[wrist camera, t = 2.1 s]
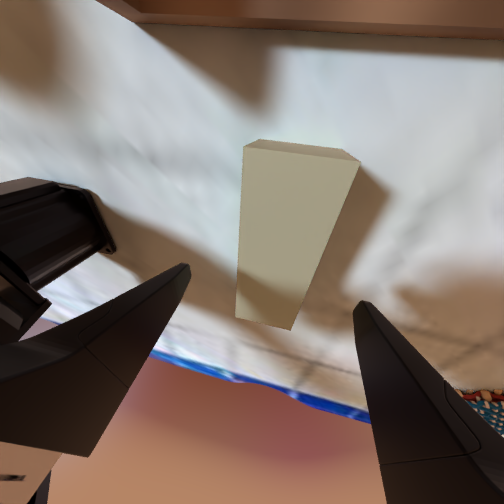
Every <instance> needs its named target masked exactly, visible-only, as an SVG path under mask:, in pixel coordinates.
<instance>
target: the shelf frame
mask: <svg viewBox="0 0 504 504" xmlns="http://www.w3.org/2000/svg"><path fill="white" fill-rule="evenodd" d="M96 1H98V2H99V3H101V4H103V5H104V6H106V7H108V8H109V9H111V10H113V11H115V12H116V13H118V14H120V15H121V16H123V17H125V18H126V19H128V20H130V21H131V22H137V23H158V24H179V25H199V26H220V27H241V28H262V29H282V30H303V31H324V32H345V33H365V34H386V35H407V36H427V37H448V38H469V39H490V40H504V0H96Z"/></svg>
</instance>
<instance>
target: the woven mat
mask: <svg viewBox="0 0 504 504" xmlns="http://www.w3.org/2000/svg"><path fill="white" fill-rule="evenodd" d="M455 390H456V391H457V393H458V394H459V395H460V396H461V397H462V398H463V399H464V400H465V401H466V402H467V403H468V404H469V405H470V406H471V407H472V408H473V409H474V410H475V411H476V412H477V413H478V414H479V415H480V416H482V417H483V418H484V419H485V420H486V421H487V422H488V423H489V424H490V425H491V426H492V427H493V428H494V429H495V430H496V431H497V432H498V433H499V434H500V435H502V434H504V396H502V393H503V390H494V392H493V394H492V393H490V392H489V391H487V390H480V391H477V392H476V393H474V394H473V390H466V395H462V393H461V392H460V390H458V389H455ZM491 397H492V398H491Z"/></svg>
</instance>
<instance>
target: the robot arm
mask: <svg viewBox="0 0 504 504" xmlns="http://www.w3.org/2000/svg"><path fill="white" fill-rule="evenodd" d="M96 252H102V253H106V254H113V253H115V252H116V248H115V246H114V244H113V242H112V240H111V238H110V236H109V234H108V231H107V229H106V227H105V225H104V223H103V221H102V219H101V217H100V215H99V213H98V211H97V208H96V206H95V204H94V202H93V200H92V198H91V196H90V194H89V193H88V192H87V191H86V190H85V189H82V188H77V187H71V186H66V185H60V184H58V183H56V182H53V181H48V180H42V179H36V178H31V177H26V178H21V179H17V180H12V181H7V182H3V183H0V504H47V500H48V492H49V483H50V476H51V469H52V467H53V466H54V464H55V463H56V462H57V460H58V459H59V457H60V456H61V455H62V453H66V454H71V455H77V456H82V457H89V456H90V454H91V453H92V451H93V450H94V448H95V446H96V444H97V443H98V441H99V439H100V438H101V436H102V434H103V433H104V431H105V429H106V427H107V426H108V424H109V422H110V421H111V419H112V417H113V416H114V414H115V412H116V410H117V409H118V407H119V405H120V404H121V402H122V400H123V399H124V397H125V395H126V393H127V392H128V390H129V388H130V386H131V385H132V383H133V381H134V380H135V378H136V376H137V375H138V373H139V371H140V369H141V368H142V366H143V364H144V363H145V361H146V359H147V358H148V356H149V354H150V352H151V351H152V349H153V347H154V346H155V344H156V342H157V341H158V339H159V337H160V335H161V334H162V332H163V330H164V329H165V327H166V325H167V324H168V322H169V320H170V318H171V317H172V315H173V313H174V312H175V310H176V308H177V307H178V305H179V303H180V301H181V299H182V297H183V294H184V292H185V290H186V288H187V286H188V283H189V281H190V279H191V270H190V265H189V264H186V263H180V264H178V265H176V266H174V267H172V268H170V269H169V270H167V271H165V272H163V273H161V274H159V275H157V276H155V277H153V278H152V279H150V280H148V281H146V282H144V283H142V284H140V285H138V286H136V287H135V288H133V289H131V290H129V291H127V292H125V293H123V294H121V295H119V296H118V297H116V298H115V299H112V300H110V301H108V302H106V303H104V304H102V305H100V306H98V307H96V308H94V309H92V310H90V311H88V312H86V313H84V314H82V315H80V316H78V317H76V318H73V319H71V320H69V321H67V322H65V323H62V324H60V325H58V326H56V327H54V328H52V329H49V330H47V331H45V332H43V333H40V334H38V335H36V336H33V337H31V338H28V339H25V340H22V341H19V340H20V338H21V337H22V336H23V335H24V334H25V333H26V332H27V331H28V330H29V328H31V326H32V325H33V324H34V323H35V322H36V321H37V320H38V319H39V318H40V317H41V316H42V314H43V313H44V312H45V311H46V310H47V309H48V308H49V307H50V306H51V304H52V303H51V302H50V301H49V300H48V299H46V298H43V297H42V296H41V295H40V294H39V293H38V292H37V291H38V290H40V289H42V288H43V287H45V286H46V285H48V284H49V283H51V282H52V281H54V280H55V279H57V278H58V277H60V276H61V275H63V274H64V273H66V272H67V271H69V270H70V269H72V268H74V267H75V266H77V265H78V264H80V263H81V262H83V261H84V260H86V259H87V258H89V257H90V256H92V255H93V254H95V253H96ZM353 323H354V335H355V345H356V350H357V355H358V360H359V365H360V370H361V375H362V380H363V385H364V390H365V395H366V400H367V405H368V410H369V415H370V420H371V425H372V429H373V435H374V440H375V445H376V450H377V455H378V460H379V464H380V471H381V476H382V481H383V486H384V491H385V496H386V501H387V504H504V438H503V437H502V436H501V435H500V434H499V433H498V432H497V431H496V430H495V429H494V428H493V427H492V426H491V425H490V424H489V423H488V422H487V421H486V420H485V419H484V418H483V417H482V416H480V415H479V414H478V413H477V412H476V411H475V410H474V409H473V408H472V407H471V406H470V405H469V404H468V403H467V402H466V401H465V400H464V399H463V398H462V397H461V396H460V395H459V394H458V393H457V391H456V390H455V389H454V388H453V387H452V386H451V385H450V384H449V383H448V382H447V381H446V380H444V378H443V377H442V376H441V375H440V374H439V373H438V372H437V371H436V370H435V369H434V368H433V367H432V366H431V364H430V363H429V362H428V361H427V360H426V359H425V358H424V357H423V356H422V355H421V354H420V353H419V352H418V351H417V350H416V349H415V348H414V347H413V346H412V345H411V344H410V343H409V342H408V341H407V339H406V338H405V337H404V336H403V335H402V334H401V333H400V332H399V331H398V330H397V329H396V328H395V327H394V326H393V325H392V324H391V323H390V322H389V321H388V320H387V319H386V318H385V317H384V315H383V314H382V313H381V312H380V311H379V310H378V309H377V308H376V307H375V306H374V305H373V304H372V303H371V302H368V301H363V300H362V301H360V302H359V303H358V305H357V306H356V307H355V309H354V310H353Z"/></svg>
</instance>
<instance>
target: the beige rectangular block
mask: <svg viewBox="0 0 504 504" xmlns="http://www.w3.org/2000/svg"><path fill="white" fill-rule="evenodd" d="M360 163H361V162H360V161H359V160H357V159H356V158H354V157H353V156H351V155H350V154H348V153H347V152H345V151H344V150H342V149H337V148H329V147H321V146H312V145H304V144H296V143H288V142H280V141H272V140H264V139H259V140H256V141H254V142H252V143H250V144H248V145H246V146H244V147H243V165H242V185H241V206H240V226H239V247H238V267H237V287H236V308H235V317H237V318H241V319H245V320H249V321H253V322H257V323H261V324H266V325H270V326H274V327H278V328H282V329H286V330H290V331H291V328H292V326H293V324H294V321H295V319H296V316H297V314H298V312H299V309H300V307H301V304H302V302H303V300H304V297H305V295H306V292H307V290H308V288H309V285H310V283H311V280H312V278H313V276H314V273H315V271H316V269H317V266H318V264H319V261H320V259H321V257H322V254H323V252H324V249H325V247H326V245H327V242H328V240H329V237H330V235H331V233H332V230H333V228H334V225H335V223H336V221H337V218H338V216H339V213H340V211H341V209H342V206H343V204H344V201H345V199H346V197H347V194H348V192H349V189H350V187H351V185H352V182H353V180H354V178H355V175H356V173H357V170H358V168H359V166H360Z"/></svg>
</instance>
